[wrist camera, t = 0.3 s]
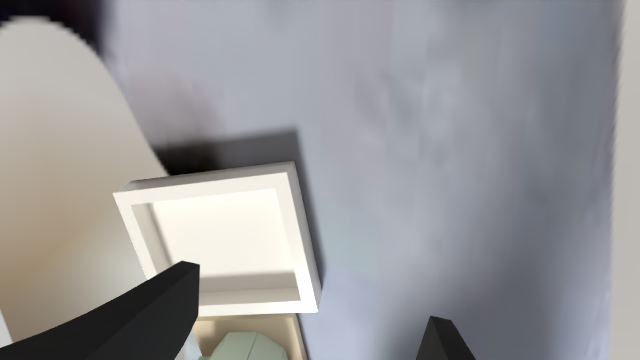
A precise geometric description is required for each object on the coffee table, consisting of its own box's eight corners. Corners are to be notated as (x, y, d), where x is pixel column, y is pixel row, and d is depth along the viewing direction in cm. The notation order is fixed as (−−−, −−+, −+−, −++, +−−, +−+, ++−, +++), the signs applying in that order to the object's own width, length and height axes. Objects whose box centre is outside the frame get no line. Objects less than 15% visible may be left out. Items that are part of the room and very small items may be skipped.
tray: (321, 291, 24) (317, 311, 22) (176, 299, 26) (162, 318, 24) (294, 160, 21) (286, 172, 19) (132, 180, 23) (112, 193, 21)
